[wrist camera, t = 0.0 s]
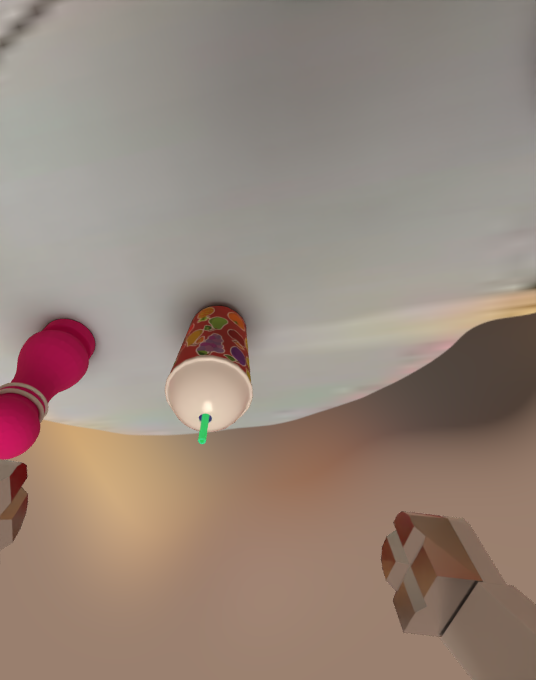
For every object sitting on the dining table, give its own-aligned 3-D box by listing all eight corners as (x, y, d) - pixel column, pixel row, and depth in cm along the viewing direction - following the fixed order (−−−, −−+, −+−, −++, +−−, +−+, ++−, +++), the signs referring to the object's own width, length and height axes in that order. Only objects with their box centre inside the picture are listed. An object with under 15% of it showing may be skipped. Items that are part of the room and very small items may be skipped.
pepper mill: (79, 307, 49) (-16, 419, 31) (110, 354, 52) (40, 479, 35) (27, 324, 50) (-92, 443, 32) (61, 370, 53) (-31, 498, 36)
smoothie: (190, 355, 53) (160, 478, 35) (181, 296, 48) (141, 404, 31) (254, 352, 53) (255, 473, 35) (250, 293, 48) (249, 398, 31)
